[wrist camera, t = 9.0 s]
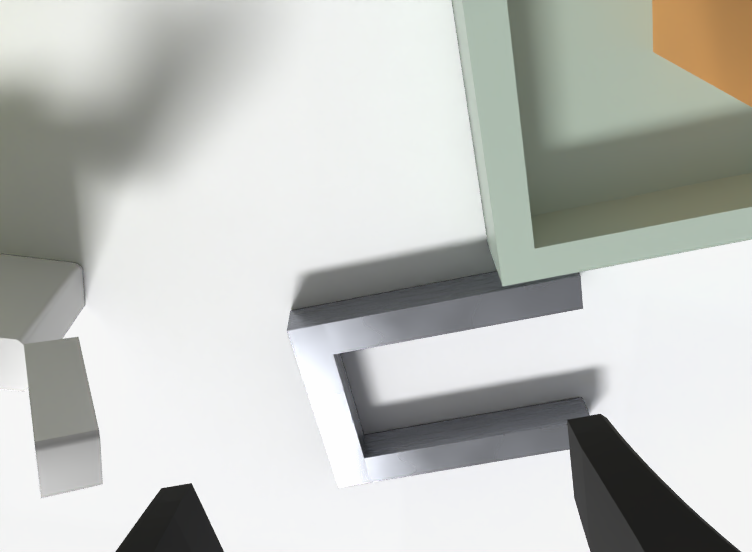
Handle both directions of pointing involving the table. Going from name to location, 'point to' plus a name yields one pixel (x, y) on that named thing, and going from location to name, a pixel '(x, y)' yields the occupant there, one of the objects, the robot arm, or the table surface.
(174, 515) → the robot arm
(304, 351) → the frame
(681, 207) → the tray
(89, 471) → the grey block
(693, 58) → the pin
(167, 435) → the table surface
